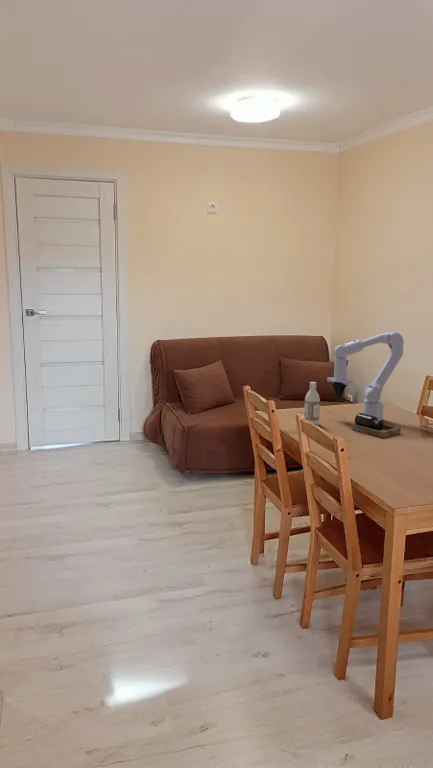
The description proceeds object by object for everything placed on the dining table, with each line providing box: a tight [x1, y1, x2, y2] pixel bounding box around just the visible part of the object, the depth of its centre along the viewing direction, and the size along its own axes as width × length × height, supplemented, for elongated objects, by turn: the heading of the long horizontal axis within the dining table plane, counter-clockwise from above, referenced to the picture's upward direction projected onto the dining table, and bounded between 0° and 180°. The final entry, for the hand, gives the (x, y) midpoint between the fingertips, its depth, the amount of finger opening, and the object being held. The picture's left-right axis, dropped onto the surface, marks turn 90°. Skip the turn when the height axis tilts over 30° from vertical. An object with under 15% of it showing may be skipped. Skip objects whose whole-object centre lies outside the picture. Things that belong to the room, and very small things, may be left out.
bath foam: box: [303, 381, 321, 426], centre depth 273 cm, size 7×7×20 cm
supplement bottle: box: [354, 412, 384, 431], centre depth 264 cm, size 7×7×12 cm
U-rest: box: [351, 423, 401, 439], centre depth 262 cm, size 13×16×2 cm
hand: (338, 398), depth 284 cm, fingers closed
